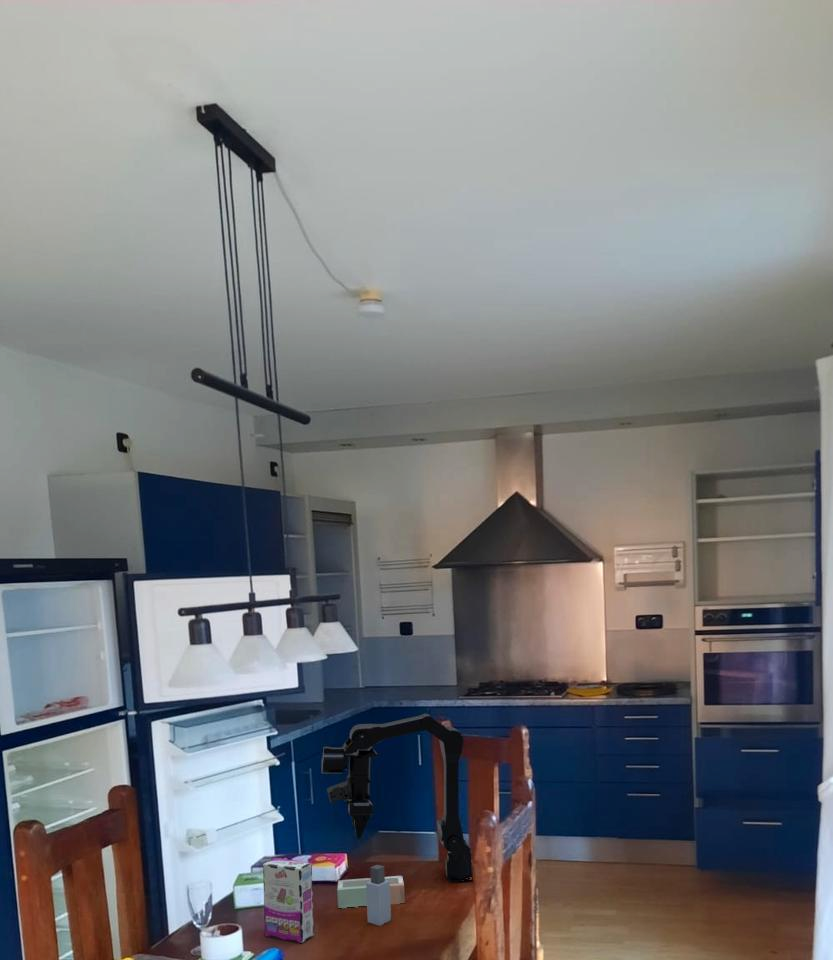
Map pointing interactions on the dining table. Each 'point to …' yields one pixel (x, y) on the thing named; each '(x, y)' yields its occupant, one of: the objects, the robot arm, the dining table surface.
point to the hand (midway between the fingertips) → (356, 833)
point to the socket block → (356, 894)
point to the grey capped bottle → (378, 897)
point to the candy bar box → (288, 900)
